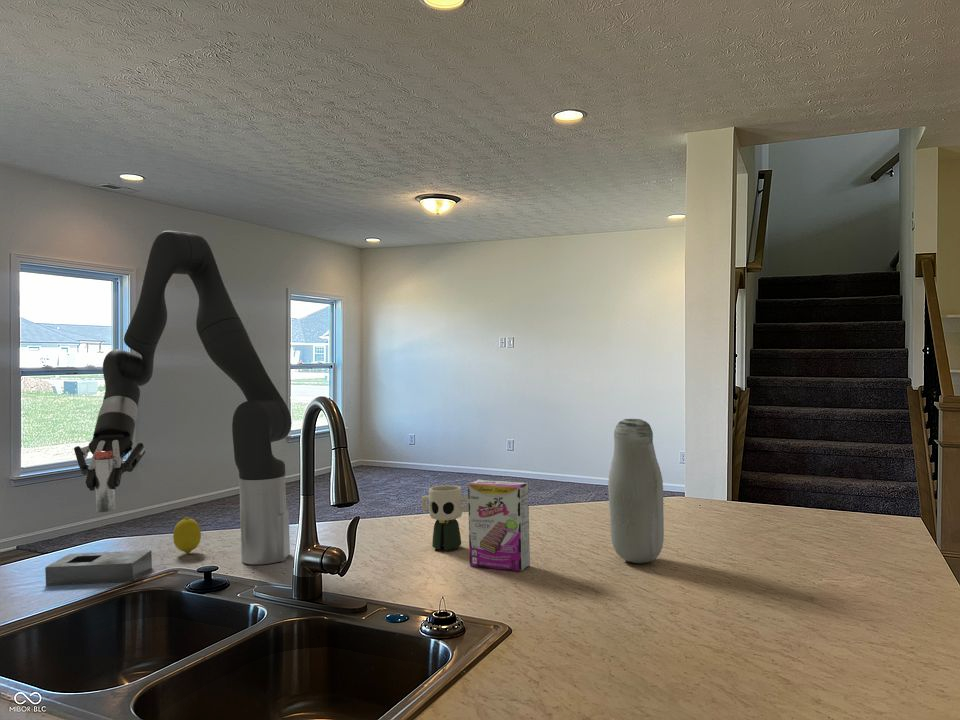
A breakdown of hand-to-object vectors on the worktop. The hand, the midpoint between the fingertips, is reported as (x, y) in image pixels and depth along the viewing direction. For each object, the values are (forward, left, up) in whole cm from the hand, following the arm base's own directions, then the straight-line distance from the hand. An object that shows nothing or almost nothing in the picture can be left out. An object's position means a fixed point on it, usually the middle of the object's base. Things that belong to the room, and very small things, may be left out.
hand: (102, 487), depth 143 cm
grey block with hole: (-1, +3, -17) cm, 17 cm away
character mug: (-69, -6, -17) cm, 71 cm away
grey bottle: (-106, +10, -17) cm, 107 cm away
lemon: (-13, -11, -17) cm, 24 cm away
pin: (0, -2, -5) cm, 5 cm away
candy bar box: (-79, +9, -17) cm, 81 cm away
